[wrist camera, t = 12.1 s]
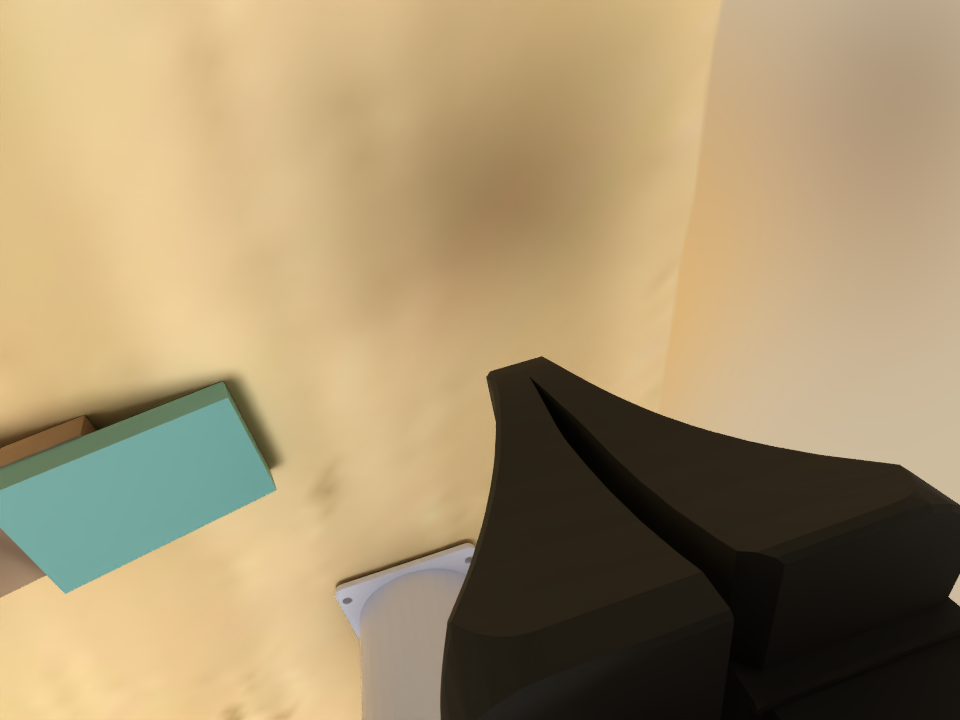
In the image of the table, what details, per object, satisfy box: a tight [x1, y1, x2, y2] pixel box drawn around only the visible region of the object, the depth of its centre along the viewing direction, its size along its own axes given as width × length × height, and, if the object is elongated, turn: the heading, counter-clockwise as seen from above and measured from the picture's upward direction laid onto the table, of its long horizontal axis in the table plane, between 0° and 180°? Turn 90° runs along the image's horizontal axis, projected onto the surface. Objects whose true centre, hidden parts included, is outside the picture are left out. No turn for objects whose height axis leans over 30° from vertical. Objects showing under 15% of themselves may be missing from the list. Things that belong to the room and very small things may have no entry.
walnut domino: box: [0, 415, 96, 598], centre depth 19 cm, size 5×2×8 cm
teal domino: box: [0, 381, 277, 594], centre depth 19 cm, size 5×2×8 cm
